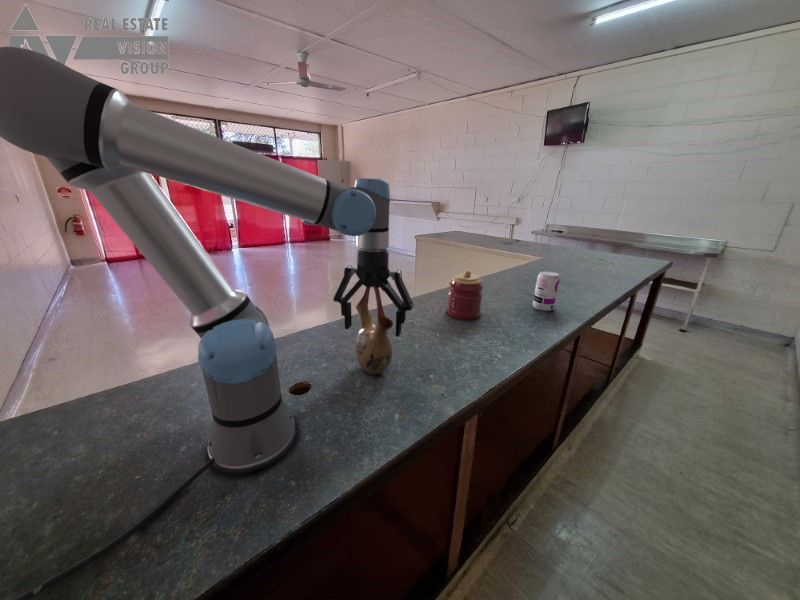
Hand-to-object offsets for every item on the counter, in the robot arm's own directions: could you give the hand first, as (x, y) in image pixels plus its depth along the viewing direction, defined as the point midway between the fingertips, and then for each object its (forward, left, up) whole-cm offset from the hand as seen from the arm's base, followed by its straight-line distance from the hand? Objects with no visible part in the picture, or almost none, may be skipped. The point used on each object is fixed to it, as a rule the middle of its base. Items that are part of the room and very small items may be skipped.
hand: (372, 330), depth 81 cm
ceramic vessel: (0, 0, -12) cm, 12 cm away
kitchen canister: (+48, -21, -12) cm, 54 cm away
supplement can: (+65, -53, -12) cm, 85 cm away
